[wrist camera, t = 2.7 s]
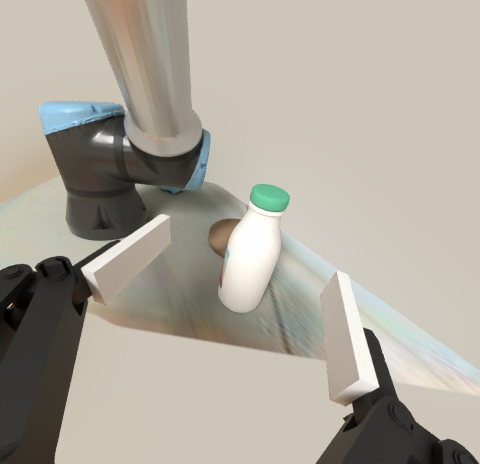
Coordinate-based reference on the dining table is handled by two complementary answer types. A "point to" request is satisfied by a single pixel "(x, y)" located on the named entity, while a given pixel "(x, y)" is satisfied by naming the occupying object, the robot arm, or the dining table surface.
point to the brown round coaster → (221, 235)
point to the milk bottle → (253, 250)
